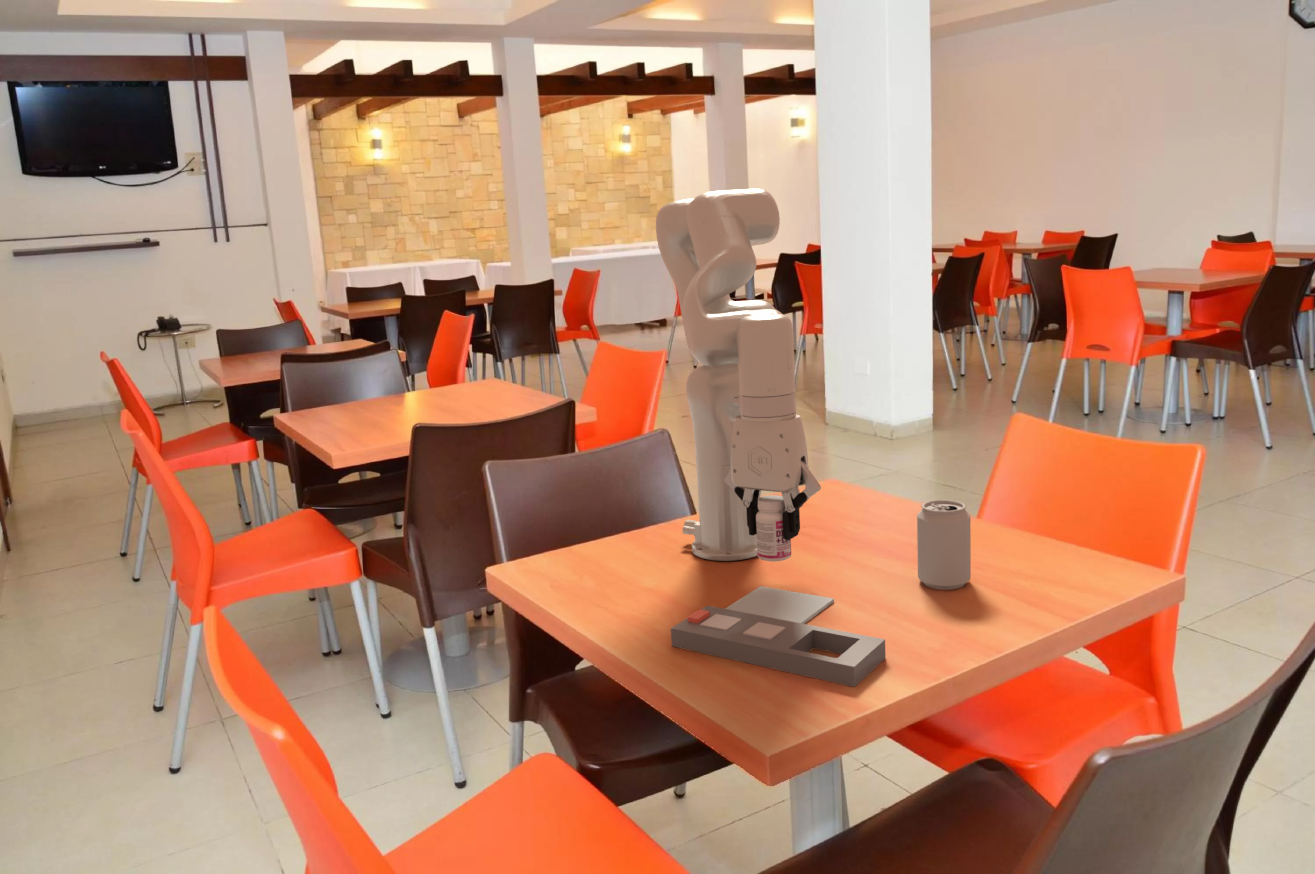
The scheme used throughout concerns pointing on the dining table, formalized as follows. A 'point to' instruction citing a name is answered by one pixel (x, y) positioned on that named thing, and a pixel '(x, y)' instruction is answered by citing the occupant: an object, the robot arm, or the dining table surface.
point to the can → (944, 544)
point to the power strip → (779, 644)
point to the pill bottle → (771, 529)
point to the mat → (781, 604)
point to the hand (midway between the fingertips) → (773, 533)
